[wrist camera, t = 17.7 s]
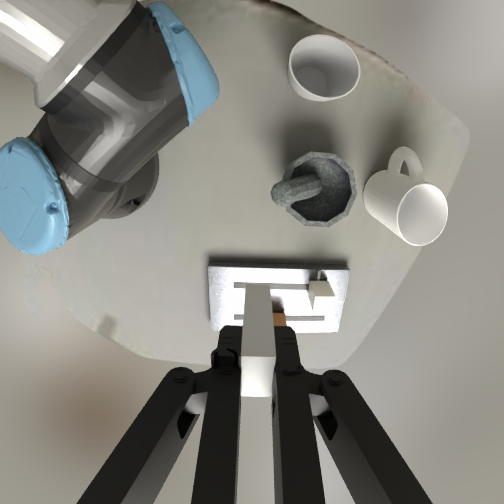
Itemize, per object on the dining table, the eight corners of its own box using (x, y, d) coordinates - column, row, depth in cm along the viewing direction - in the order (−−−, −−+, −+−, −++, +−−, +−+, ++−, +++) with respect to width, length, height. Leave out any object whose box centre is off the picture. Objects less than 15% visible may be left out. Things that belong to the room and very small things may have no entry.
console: (212, 323, 51) (211, 330, 49) (209, 261, 46) (207, 266, 44) (335, 325, 51) (337, 332, 49) (346, 265, 46) (350, 270, 44)
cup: (329, 115, 38) (350, 109, 28) (274, 97, 37) (280, 85, 28) (343, 67, 35) (366, 50, 25) (289, 49, 34) (299, 25, 25)
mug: (410, 146, 39) (454, 153, 27) (406, 219, 43) (445, 245, 32) (363, 142, 39) (399, 146, 28) (361, 219, 43) (393, 247, 32)
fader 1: (265, 325, 48) (266, 343, 43) (266, 312, 47) (267, 330, 42) (283, 325, 48) (286, 344, 43) (285, 313, 47) (287, 330, 42)
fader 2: (307, 295, 46) (312, 312, 41) (309, 280, 45) (315, 296, 40) (326, 295, 46) (332, 311, 41) (328, 281, 45) (335, 296, 40)
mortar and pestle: (345, 153, 40) (376, 160, 28) (339, 214, 43) (366, 242, 32) (268, 147, 40) (273, 150, 28) (265, 210, 43) (269, 237, 32)
